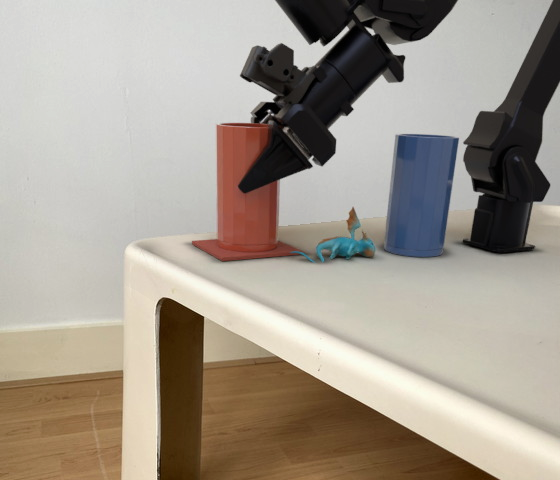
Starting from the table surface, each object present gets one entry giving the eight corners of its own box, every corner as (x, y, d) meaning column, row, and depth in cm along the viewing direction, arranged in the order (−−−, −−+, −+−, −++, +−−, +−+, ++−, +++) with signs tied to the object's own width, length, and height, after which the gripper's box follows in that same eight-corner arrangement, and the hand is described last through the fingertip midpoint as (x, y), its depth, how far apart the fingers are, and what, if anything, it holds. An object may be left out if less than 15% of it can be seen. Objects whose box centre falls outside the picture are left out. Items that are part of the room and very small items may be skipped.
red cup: (283, 240, 76) (287, 124, 70) (269, 254, 69) (272, 128, 64) (227, 235, 77) (226, 121, 71) (209, 249, 71) (207, 125, 65)
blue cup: (417, 242, 80) (430, 134, 75) (455, 254, 75) (472, 138, 70) (372, 246, 77) (383, 133, 72) (408, 259, 72) (423, 137, 67)
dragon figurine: (353, 265, 65) (389, 225, 69) (295, 230, 66) (333, 193, 71) (339, 305, 70) (372, 266, 75) (284, 273, 72) (320, 236, 76)
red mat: (266, 238, 79) (267, 235, 79) (302, 254, 72) (302, 250, 72) (191, 244, 75) (191, 240, 74) (222, 261, 67) (222, 257, 67)
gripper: (270, 26, 73) (177, 125, 75) (311, 6, 56) (189, 134, 58) (331, 102, 78) (241, 193, 80) (385, 105, 61) (270, 220, 63)
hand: (235, 185), depth 70 cm, fingers closed on red cup, 7 cm apart
